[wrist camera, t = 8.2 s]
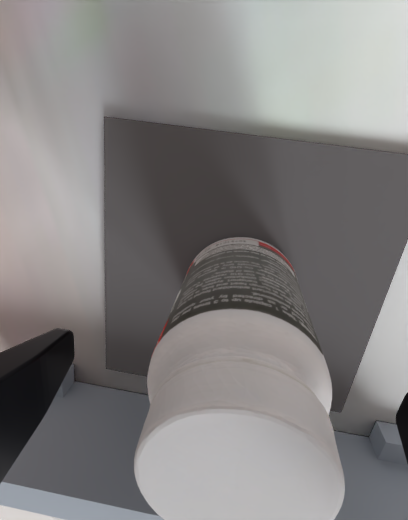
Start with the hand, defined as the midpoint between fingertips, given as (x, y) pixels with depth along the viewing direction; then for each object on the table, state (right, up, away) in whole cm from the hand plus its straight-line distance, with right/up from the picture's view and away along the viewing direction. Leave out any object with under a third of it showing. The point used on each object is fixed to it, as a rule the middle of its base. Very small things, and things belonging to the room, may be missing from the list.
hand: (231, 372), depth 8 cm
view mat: (+1, +2, +5) cm, 6 cm away
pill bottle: (+1, +2, +5) cm, 6 cm away
